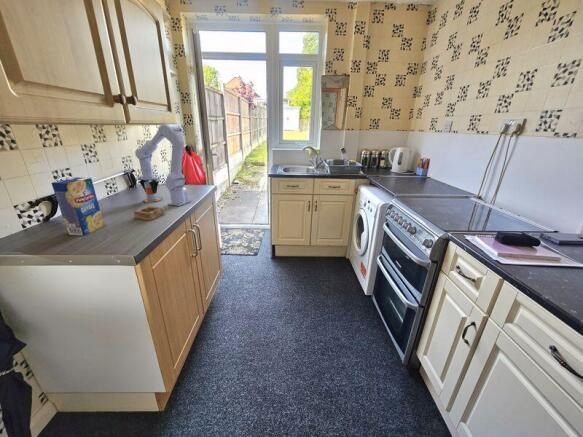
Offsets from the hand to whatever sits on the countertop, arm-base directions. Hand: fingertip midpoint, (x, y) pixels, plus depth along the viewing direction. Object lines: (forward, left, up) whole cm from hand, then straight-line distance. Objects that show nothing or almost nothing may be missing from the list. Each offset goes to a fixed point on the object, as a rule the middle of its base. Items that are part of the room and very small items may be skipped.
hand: (151, 192), depth 148 cm
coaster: (0, 0, -5) cm, 5 cm away
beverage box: (+45, +9, -5) cm, 46 cm away
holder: (+22, +20, -5) cm, 31 cm away
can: (0, 0, -4) cm, 5 cm away
